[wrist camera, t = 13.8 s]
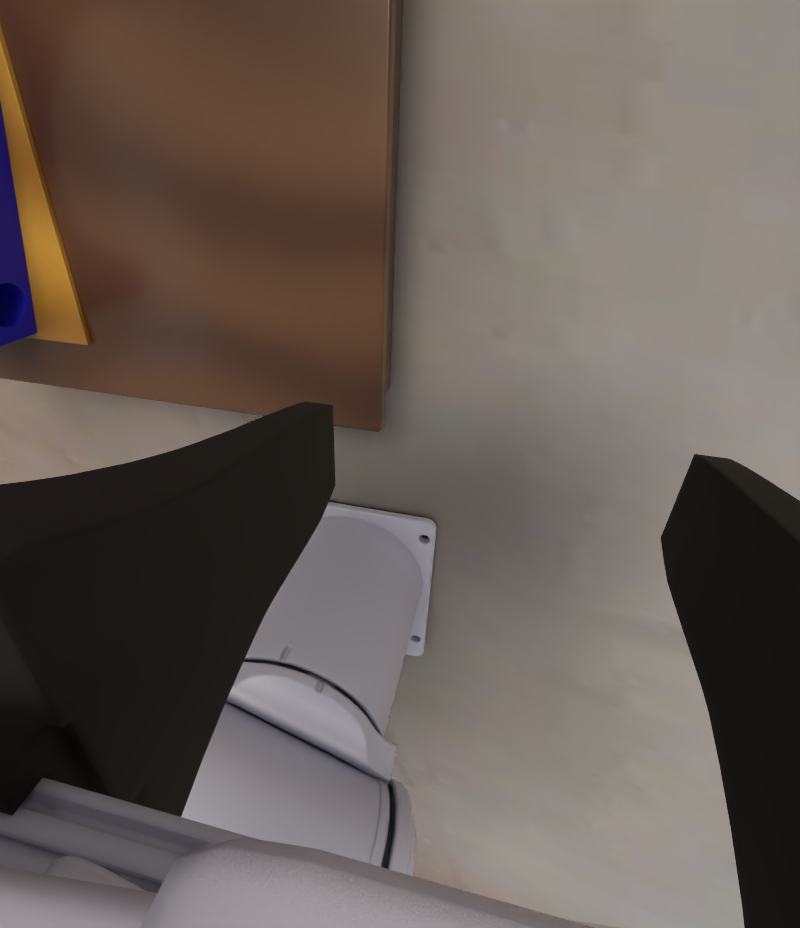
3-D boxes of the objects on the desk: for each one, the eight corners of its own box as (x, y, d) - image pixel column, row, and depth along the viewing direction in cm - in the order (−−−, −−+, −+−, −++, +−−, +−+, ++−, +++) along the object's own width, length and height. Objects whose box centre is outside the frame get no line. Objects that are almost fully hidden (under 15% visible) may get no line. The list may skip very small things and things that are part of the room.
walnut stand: (402, 393, 21) (379, 435, 18) (46, 347, 24) (-28, 377, 21) (427, -145, 13) (394, -240, 10) (-110, -119, 16) (-270, -188, 13)
